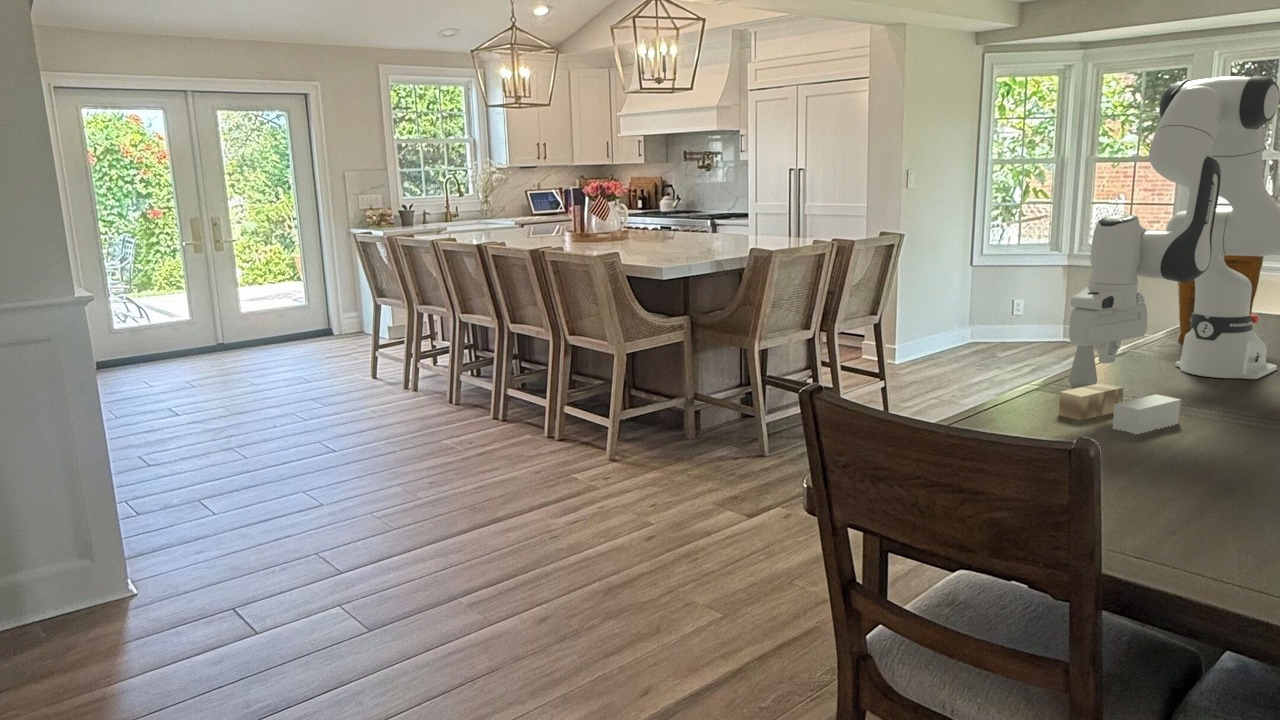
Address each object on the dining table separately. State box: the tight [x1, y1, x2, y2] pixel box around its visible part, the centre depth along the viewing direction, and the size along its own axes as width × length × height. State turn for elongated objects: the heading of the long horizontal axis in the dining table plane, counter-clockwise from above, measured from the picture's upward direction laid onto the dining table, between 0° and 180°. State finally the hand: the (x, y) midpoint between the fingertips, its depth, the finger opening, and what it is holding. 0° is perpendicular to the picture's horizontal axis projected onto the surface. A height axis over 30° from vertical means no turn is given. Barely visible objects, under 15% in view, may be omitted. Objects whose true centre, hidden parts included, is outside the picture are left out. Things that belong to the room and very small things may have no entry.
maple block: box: [1058, 382, 1125, 422], centre depth 183 cm, size 5×5×13 cm
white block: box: [1112, 393, 1182, 435], centre depth 173 cm, size 5×5×13 cm
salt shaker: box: [1068, 345, 1098, 389], centre depth 200 cm, size 6×6×13 cm
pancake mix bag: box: [1177, 255, 1265, 344], centre depth 239 cm, size 7×19×28 cm, turn 53°
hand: (1106, 362), depth 183 cm, fingers closed
